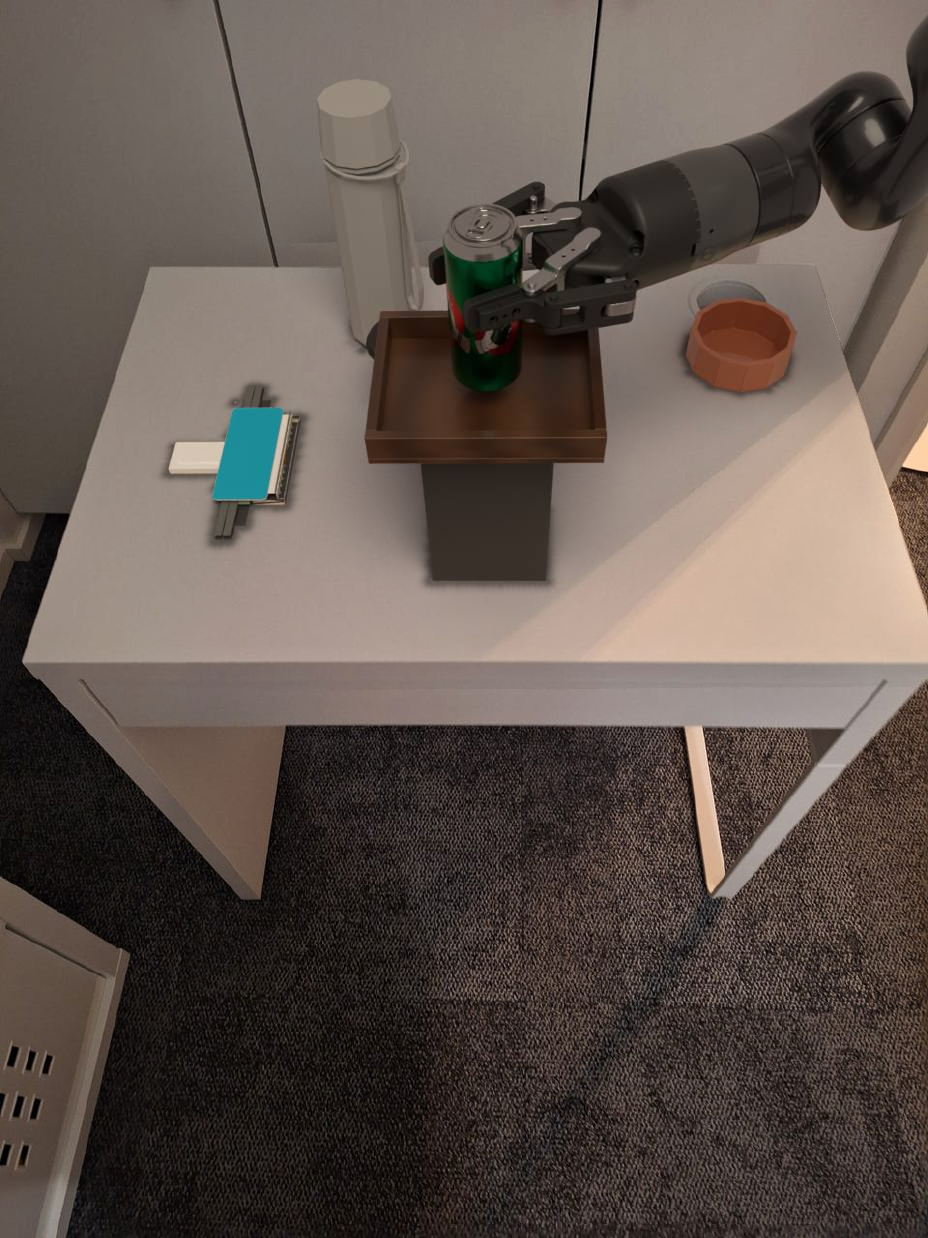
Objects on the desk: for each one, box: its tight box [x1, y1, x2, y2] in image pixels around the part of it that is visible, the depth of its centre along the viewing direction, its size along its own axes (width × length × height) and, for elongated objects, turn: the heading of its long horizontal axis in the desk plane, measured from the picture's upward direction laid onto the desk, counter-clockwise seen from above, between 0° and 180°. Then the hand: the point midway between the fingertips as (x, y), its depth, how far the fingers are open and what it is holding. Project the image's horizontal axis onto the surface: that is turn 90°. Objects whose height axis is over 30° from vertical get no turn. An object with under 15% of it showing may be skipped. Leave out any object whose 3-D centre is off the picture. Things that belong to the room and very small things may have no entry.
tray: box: [364, 308, 608, 465], centre depth 67 cm, size 17×14×2 cm
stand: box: [420, 463, 555, 582], centre depth 76 cm, size 10×8×18 cm
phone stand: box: [168, 384, 302, 541], centre depth 90 cm, size 20×12×2 cm, turn 178°
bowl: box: [685, 297, 798, 393], centre depth 94 cm, size 10×10×4 cm
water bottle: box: [316, 78, 425, 347], centre depth 89 cm, size 9×8×25 cm
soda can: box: [442, 202, 524, 392], centre depth 62 cm, size 5×5×12 cm
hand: (449, 293), depth 59 cm, fingers closed on soda can, 5 cm apart
